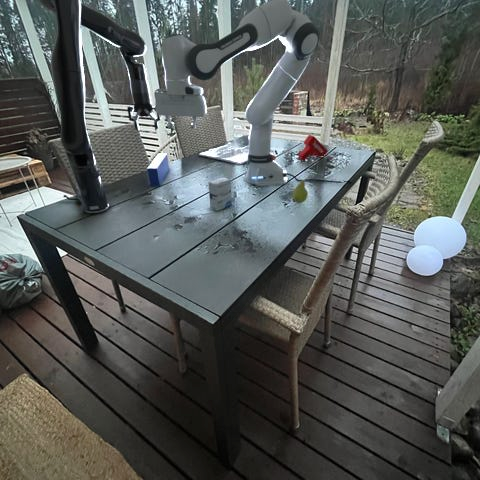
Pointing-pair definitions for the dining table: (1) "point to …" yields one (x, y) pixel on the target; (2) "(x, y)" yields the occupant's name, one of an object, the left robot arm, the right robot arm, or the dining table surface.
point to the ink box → (220, 193)
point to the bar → (158, 169)
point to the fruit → (300, 192)
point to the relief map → (228, 153)
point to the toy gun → (312, 148)
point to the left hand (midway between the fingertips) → (147, 130)
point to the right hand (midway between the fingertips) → (182, 128)
